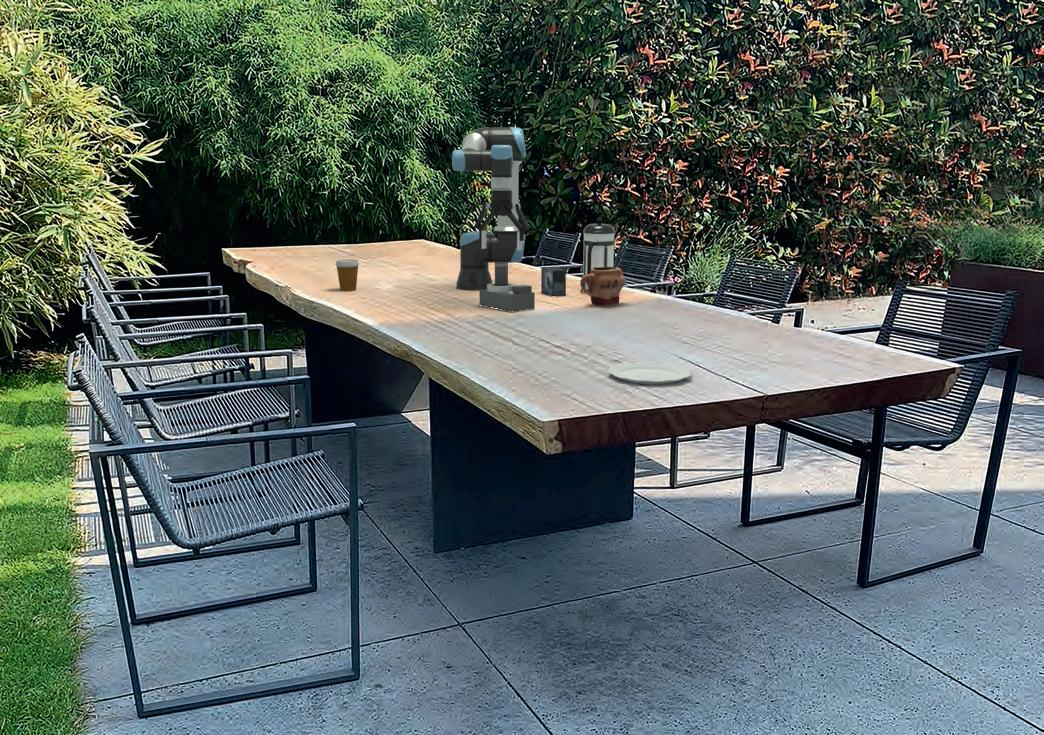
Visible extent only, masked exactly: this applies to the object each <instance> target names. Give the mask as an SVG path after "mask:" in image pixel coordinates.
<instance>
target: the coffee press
mask: <svg viewBox="0 0 1044 735" xmlns="http://www.w3.org/2000/svg"><path fill="white" fill-rule="evenodd" d="M596 222H597V223H589V224H587V225H586V226H585V227H584V229H583V230H582V232H583V233H582V234H583V240H582V242H583V243H582V244H583V266H582V267H583V270H582V271H583V272H582V273H583V274H582V277H583V276H584V275H587V274H590V270H591V269H592V268H597V267H614V257H615V256H614V252H615V243H616V242H615V234H616V230H615V229H614V228H615V227H614V226H613V225H611V224H609V223H608V224H607V223H602V222H603V218H602V217H601V216H600V217H597V218H596ZM584 288H585V289H586V290H588V287H587V280H586V281H585V282H584ZM583 292H584V291H583V289H582V288H581V289H580V293H581V294H586V293H585V292H584V293H583Z"/></svg>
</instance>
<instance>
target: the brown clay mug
mask: <svg viewBox="0 0 1044 735" xmlns="http://www.w3.org/2000/svg"><path fill="white" fill-rule="evenodd" d="M586 280H587V287H588V290H587V289H585V288H584V282H585V281H586ZM626 281H627V279H626V278H625V275H624V272H623V270H622V268H619V267H618V266H617V267H614V266H613V267H597V268H592V269H591V270H590V274H587V275H584V276H583V275H582V277H581V279H580V281H579V282H580V284H579V286H580V288H581V289H583V291H582V292H585V293H584V294H586V295H587V296H589V298H590V302H591V304H592V305H593V304H594V306H599V307H606V306H607V307H608V306H617V305H619V304H620V292H621V291H622V289H623V288H624V287H625V284H626Z"/></svg>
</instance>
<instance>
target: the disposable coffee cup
mask: <svg viewBox="0 0 1044 735" xmlns="http://www.w3.org/2000/svg"><path fill="white" fill-rule="evenodd" d="M359 266H360V263H359V260H357V259H338V260H336V261H335V267H336V272H337V276H338V283H339V290H340V291H342V292H354V291H355V292H356V291H357V285H358V284H357V283H358V274H359V271H358V270H359Z"/></svg>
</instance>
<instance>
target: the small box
mask: <svg viewBox="0 0 1044 735" xmlns="http://www.w3.org/2000/svg"><path fill="white" fill-rule="evenodd" d="M540 271H541V272H540V273H541V274H540V275H541V276H540V278H541V279H540V280H541V284H540V285H541V286H540V289H541V290H540V292H541V294H543V293H544V295H546V294H548V295H547V296H549V295H551V296H550V297H552V296H556V297H565V296H567V269H566V268H565V269H564V268H561V267H558V266H548V267H547V266H546V267H541V270H540Z"/></svg>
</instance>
